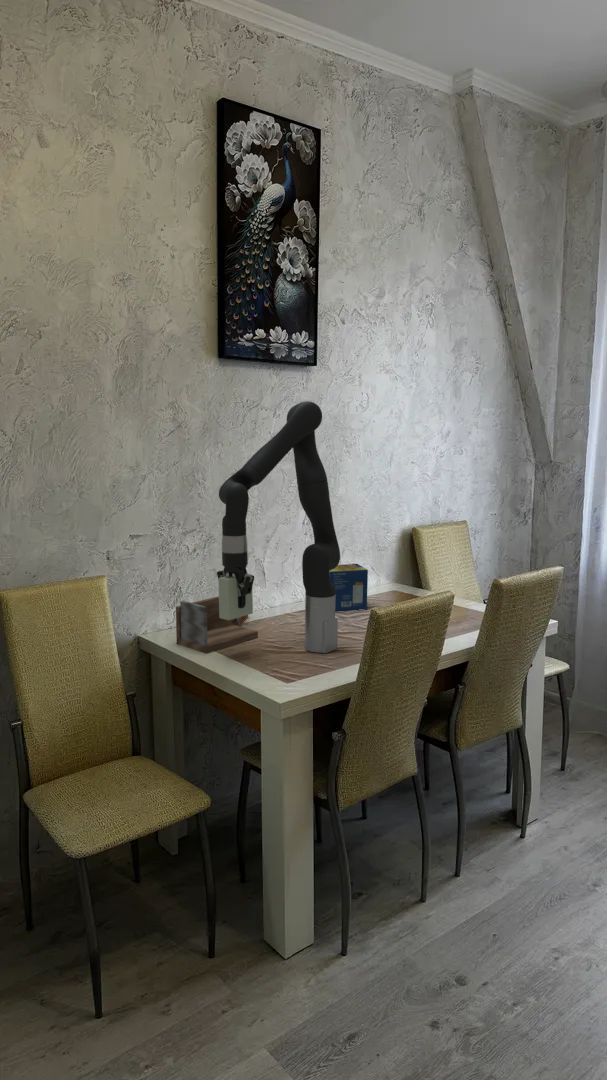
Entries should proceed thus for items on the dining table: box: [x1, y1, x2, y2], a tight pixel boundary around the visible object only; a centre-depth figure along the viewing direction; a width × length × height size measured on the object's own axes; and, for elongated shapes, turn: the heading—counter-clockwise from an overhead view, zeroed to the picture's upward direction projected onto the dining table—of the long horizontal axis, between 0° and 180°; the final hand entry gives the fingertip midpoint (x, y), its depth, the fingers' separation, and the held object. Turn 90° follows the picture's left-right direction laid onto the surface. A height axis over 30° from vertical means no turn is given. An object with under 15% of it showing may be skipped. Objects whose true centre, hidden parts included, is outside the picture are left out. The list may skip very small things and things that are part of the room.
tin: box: [232, 615, 249, 627], centre depth 259 cm, size 15×3×8 cm, turn 168°
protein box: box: [329, 563, 369, 612], centre depth 278 cm, size 10×15×16 cm
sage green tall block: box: [217, 573, 254, 620], centre depth 223 cm, size 4×10×12 cm, turn 140°
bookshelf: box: [175, 595, 259, 654], centre depth 238 cm, size 14×22×14 cm, turn 138°
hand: (236, 606), depth 223 cm, fingers closed on sage green tall block, 4 cm apart
